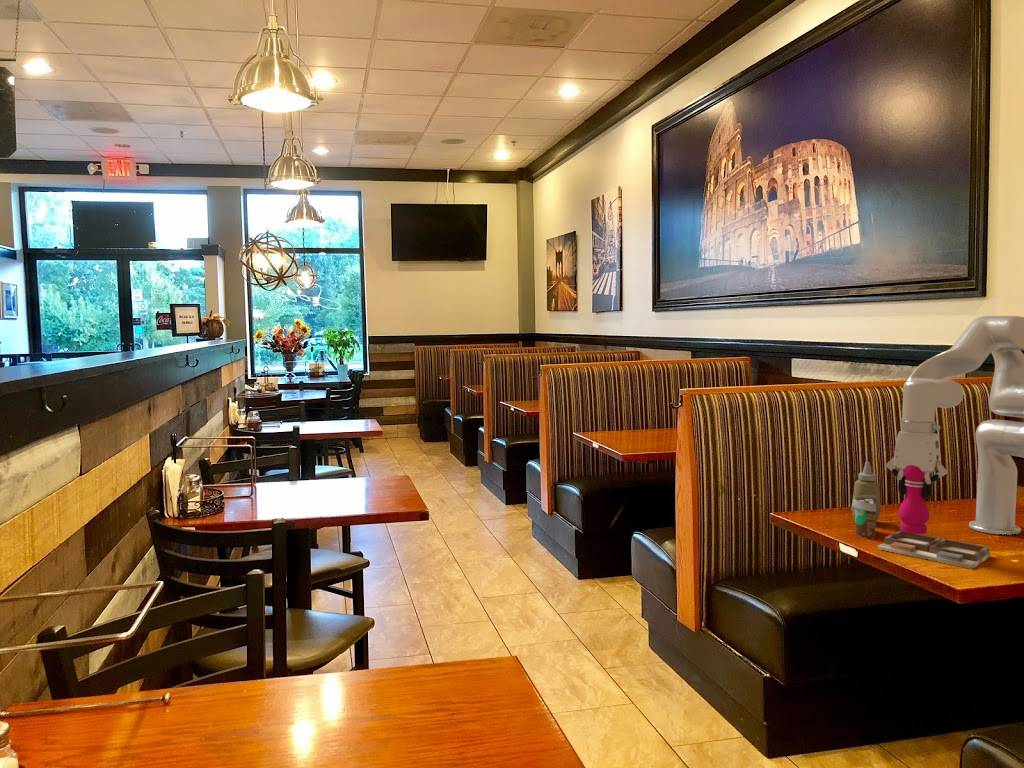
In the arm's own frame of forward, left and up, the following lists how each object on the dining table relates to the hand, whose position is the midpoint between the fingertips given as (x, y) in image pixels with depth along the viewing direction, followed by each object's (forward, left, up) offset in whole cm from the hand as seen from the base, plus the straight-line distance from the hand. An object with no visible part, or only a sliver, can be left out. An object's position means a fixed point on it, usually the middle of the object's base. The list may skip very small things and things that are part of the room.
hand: (914, 495), depth 202 cm
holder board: (+1, +6, -14) cm, 15 cm away
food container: (-4, -14, -14) cm, 21 cm away
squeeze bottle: (-18, -19, -14) cm, 30 cm away
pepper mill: (0, 0, -10) cm, 10 cm away
